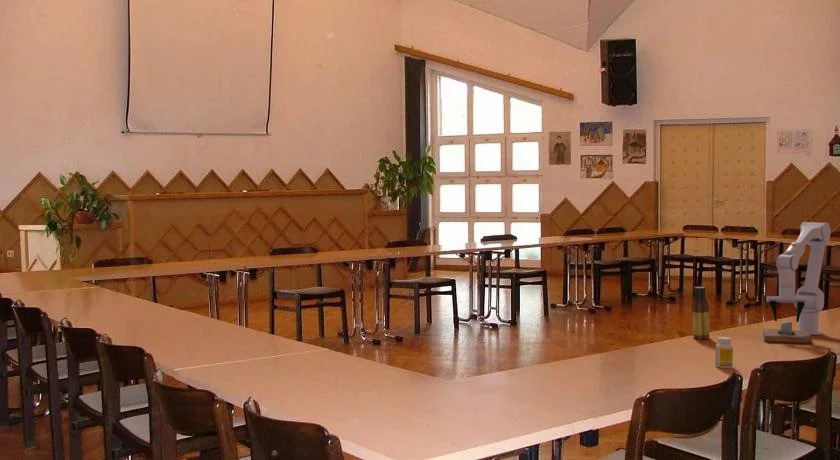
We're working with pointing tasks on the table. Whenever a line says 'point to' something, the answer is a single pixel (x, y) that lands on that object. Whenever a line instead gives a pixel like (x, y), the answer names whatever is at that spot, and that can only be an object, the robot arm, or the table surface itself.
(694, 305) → the sauce bottle
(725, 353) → the supplement bottle
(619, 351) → the table surface
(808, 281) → the robot arm
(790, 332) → the slate pin
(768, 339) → the walnut socket block
